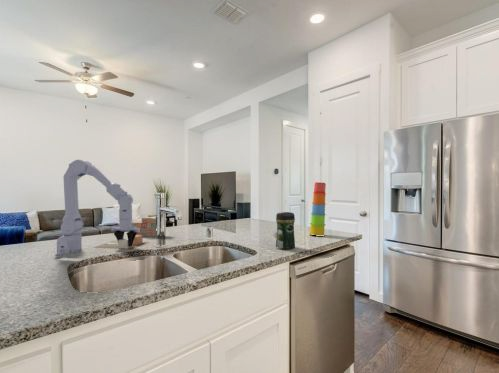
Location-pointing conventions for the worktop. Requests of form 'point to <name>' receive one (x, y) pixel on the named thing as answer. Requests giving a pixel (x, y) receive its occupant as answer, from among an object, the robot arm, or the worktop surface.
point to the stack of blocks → (146, 226)
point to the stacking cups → (318, 209)
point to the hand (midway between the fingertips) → (125, 246)
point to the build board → (115, 245)
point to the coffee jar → (285, 230)
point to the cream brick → (123, 243)
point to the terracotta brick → (137, 239)
